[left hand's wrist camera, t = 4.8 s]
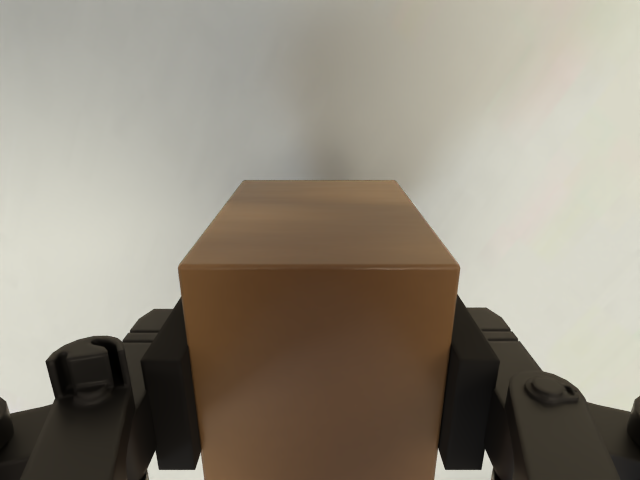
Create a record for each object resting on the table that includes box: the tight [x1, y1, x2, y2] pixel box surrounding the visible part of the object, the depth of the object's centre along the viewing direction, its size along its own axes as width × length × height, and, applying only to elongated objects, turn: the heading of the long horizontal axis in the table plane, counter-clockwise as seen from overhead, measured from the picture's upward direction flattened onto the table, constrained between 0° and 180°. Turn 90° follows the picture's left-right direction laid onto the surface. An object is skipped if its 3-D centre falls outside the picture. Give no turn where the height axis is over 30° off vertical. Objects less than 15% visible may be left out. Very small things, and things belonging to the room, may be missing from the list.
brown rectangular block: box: [178, 180, 460, 480], centre depth 12 cm, size 5×6×7 cm
